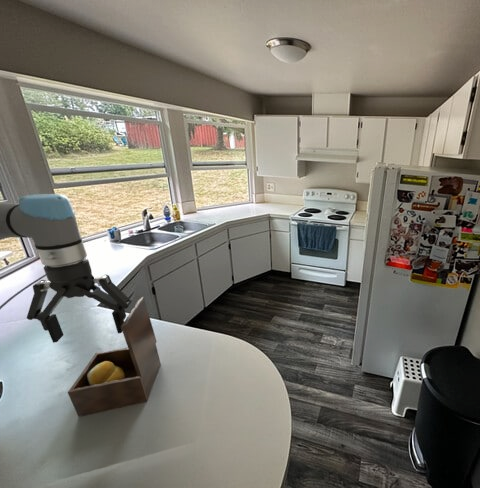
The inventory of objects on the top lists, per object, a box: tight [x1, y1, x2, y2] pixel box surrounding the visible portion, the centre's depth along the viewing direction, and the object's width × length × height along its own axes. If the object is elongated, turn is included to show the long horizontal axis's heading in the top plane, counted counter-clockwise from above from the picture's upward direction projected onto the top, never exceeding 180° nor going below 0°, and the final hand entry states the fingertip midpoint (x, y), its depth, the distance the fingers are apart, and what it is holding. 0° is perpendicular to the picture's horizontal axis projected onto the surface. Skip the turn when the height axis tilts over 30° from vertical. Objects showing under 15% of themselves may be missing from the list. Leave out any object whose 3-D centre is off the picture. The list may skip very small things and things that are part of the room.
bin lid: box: [121, 296, 158, 377], centre depth 70 cm, size 17×14×1 cm
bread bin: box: [67, 343, 162, 418], centre depth 72 cm, size 16×14×9 cm
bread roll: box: [87, 361, 125, 386], centre depth 71 cm, size 8×9×4 cm
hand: (91, 334), depth 66 cm, fingers open, 13 cm apart
